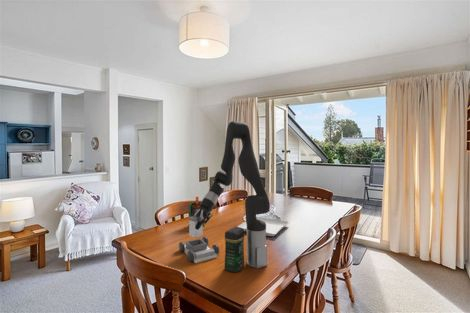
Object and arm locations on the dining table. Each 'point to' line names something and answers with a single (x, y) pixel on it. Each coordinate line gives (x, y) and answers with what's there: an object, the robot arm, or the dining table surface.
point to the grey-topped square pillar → (192, 224)
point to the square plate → (269, 225)
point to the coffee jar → (234, 249)
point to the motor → (196, 206)
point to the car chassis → (199, 250)
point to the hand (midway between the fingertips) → (193, 227)
